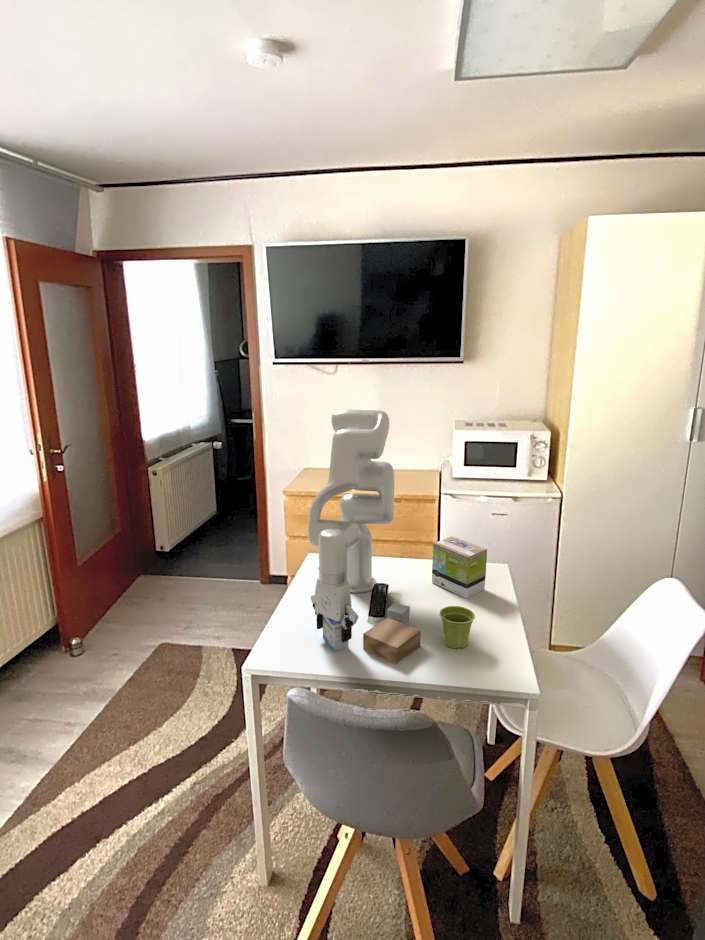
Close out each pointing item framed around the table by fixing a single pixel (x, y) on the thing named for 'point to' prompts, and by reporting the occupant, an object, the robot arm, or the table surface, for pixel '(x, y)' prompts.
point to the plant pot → (456, 625)
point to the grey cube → (399, 613)
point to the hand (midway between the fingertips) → (333, 633)
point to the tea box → (459, 566)
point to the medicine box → (334, 634)
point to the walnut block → (391, 640)
